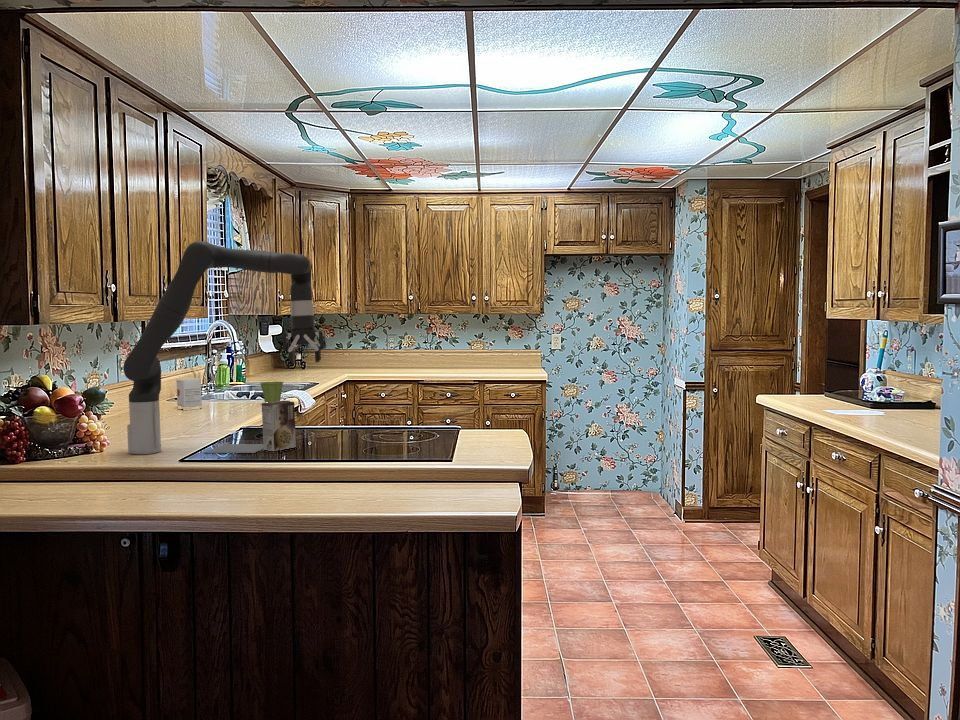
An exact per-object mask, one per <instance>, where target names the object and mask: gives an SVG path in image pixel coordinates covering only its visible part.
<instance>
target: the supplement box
mask: <svg viewBox="0 0 960 720" xmlns="http://www.w3.org/2000/svg"><path fill="white" fill-rule="evenodd" d="M175 381H176V402H177V403H176V404H177V405H178V406H181V407H196V406H202V407H203V399H202V397H203V396H202V379H201V378H196V377H188V378H177V379H176V380H175ZM178 406H177V407H178Z"/></svg>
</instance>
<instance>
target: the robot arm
mask: <svg viewBox="0 0 960 720" xmlns="http://www.w3.org/2000/svg"><path fill="white" fill-rule="evenodd" d="M215 268H217V269H218V268H230V269H231V268H233V269H240V270H245V271H251V272H257V273H258V272H259V273H267V274H268V273H269V274H287V275H290V280H291V281H290V282H291V285H290V289H289V290H290V291H289V293H290V318H291V319H290V320H291V321H290V322H291V323H290V324H291V332H283V333H282V350H283V351H284V352H285V351H286V352H288V360H289V362H290V363H291V364H295V363H296V352H295V351H296V348H298V346H300V345H301V346H303V345H305V346H307V345H310V346H311V347H312V348H313V349H314V350H315V351H314V359H315V361H314V362H315V363H320V362H321V360H322V353H321V351H322V350H325V349H327V344H326V335H325V330H320V331H316V325H315V309H314V304H313V303H314V302H313V291H312V264H311V260H310V259H309V258H308V257H306V256H305V255H303V254H301V253H289V252H288V253H287V252H286V253H285V252H282V253H281V252H275V251H267V250H258V249H257V250H255V249H236V248H229V247H224V246H220V245H217V244H212V243H210V242H208V241H203V240H201V241H199V240H197V241H193V242H191V243H190V244H189V245H187V247H186V248H185V250H184V252H183V255H182V258H181V260H180V263H179V265H178V267H177V270H176V273H175V275H174V277H173V278H172V279H171V281H170V282H169V284H168V285H167V287H166V289H165V291H164V293H163V294H162V296H161V298H160V299H159V301H158V302H157V305H156V307H155V309H154V310H153V313H152V314H151V317H150V319H149V321H148V322H147V324H146V326H145V328H144V330H143V332H142V335H141V336H140V338H139V339H138V341H137V342H136V344H135V345H134V347H133V349H131V351H130V352H129V354H128V355H127V357H126V358H125V360H124V363H123V369H122V370H123V374H124V376H125V378H126V379H128V380H129V381H132V382H133V383H132V384H133V385H132V388H131V390H130V392H129V393H128V411H129V424H127V426H126V431H127V449H128V454H132V455H148V454H149V455H150V454H157V453H160V452H161V451H162V439H161V438H162V437H161V411H160V393H161V390H162V366H161V362H160V360H159V358H158V357H157V356H158V354H159V352H160V350H161V348H162V347H163V346H164V345H165V344H166V342H167V341H168V340H169V339H170V338H171V337H172V336H173V335H174V334H175V333H176V331H178V329H179V328H180V327H181V325H182V323H183V321H184V320H185V318H186V316H187V314H188V312H189V310H190V307H191V304H192V301H193V297H194V293H195V290H196V287H197V285H198V283H199V282H200V281H201V279H202V277H203V275H204V274H205V272H206V271H207V270H209V269H215ZM316 336H317V338H318V339H319V344H318V342H317V340H315V338H316ZM291 338H292V339H293V341H292V342H291V343H290V339H291Z"/></svg>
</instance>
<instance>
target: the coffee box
mask: <svg viewBox="0 0 960 720" xmlns="http://www.w3.org/2000/svg"><path fill="white" fill-rule="evenodd" d="M295 414H296V412H295V401H291V400H280V401H275V402H268V403H265V402H262V403H261V418H262V419H261V420H262V444H263V450H262V451H264V450H268V451H278V450H283V449H289V448H294V447H296V448H297V438H296V437H297V433H296V432H297V431H296V415H295ZM268 451H267V452H268Z"/></svg>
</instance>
